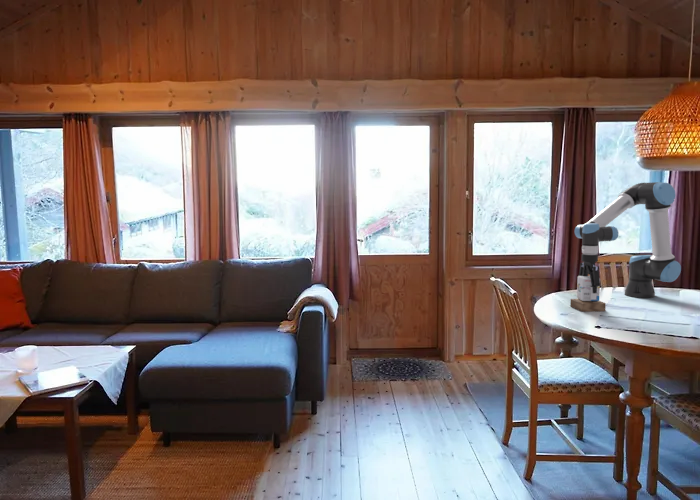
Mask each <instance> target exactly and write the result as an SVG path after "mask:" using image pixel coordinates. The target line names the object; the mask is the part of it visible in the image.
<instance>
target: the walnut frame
mask: <svg viewBox="0 0 700 500" xmlns="http://www.w3.org/2000/svg"><path fill="white" fill-rule="evenodd" d="M569 306H570V307H571V308H573V309H575V310H577V311H579V312H582V313H583V312H584V313H585V312H590V313H591V312H606V303H605V302H603V301H601V300H599V301H582V300H580V299H578V298H570V305H569Z"/></svg>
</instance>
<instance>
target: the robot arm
mask: <svg viewBox="0 0 700 500" xmlns="http://www.w3.org/2000/svg"><path fill="white" fill-rule="evenodd" d="M675 199H676V191H675V187H673V185H671V184H670V183H668V182H661V181H658V182H653V181H652V182H638V183H636V184H634V185H632V186H629V187H628V188H626V189H625V190H624V191H622V192H621V193H619V194H618V196H617V199H615V200H613V201H612V202H611V203H610V204H608V205H607V206H606V207H605V208H603V209H602V210H601V211H600V212H599V213H597V214H596V215H595V216H594V217H592V218H591V219H590V220H589V221H587V222H586V223H584V224H577V226H575V228H574V236H575V237H576V238H577V239H582V240H581V241H582V243H581V245H582V246H581V253H582V254H581V262H580V263H579V271H578V276H590V279H591V284H592V286H591V295H590V299H591V300H595V299H596V294H597V287H598V286H600V287H601V279H600V280H599V278H600V271H599V270H600V266H596V263H597V262H598V261H599V255H598V254H599V244H600V243H599V242H613V241H616V240H617V239H618V237H619V230H618V228H617V227H615V226H612V225H611V226H609V224H611V222H613V221H615V219H616V218H619V216H620V215H622V214H623V213H624V212H626V211H627V210H628V209H632V208H633V207H635V206H638V205H644V206H645V207H644V208H645V210H646V211H647V212H648V216H649V227H650V237H651V247H652V248H651V250H652V251H651V252H652V255H650V254H646V255H644V254H643V255H642V254H641V255H632V256H630V257H629V258H630V259H629V262H628V263H629V264H628V265H629V267H628V269H629V270H628V283H627V285H626V287H625V290H624V295H625V296H628V297H632V298H640V299H642V298H643V299H645V298H646V299H652V298H655V297H656V292H655V287H654V285H653V280H655V281H658V282H659V281H660V282H663V283H664V282H665V283H666V282H667V283H672V282H674V281H676V280H677V279H678V278H679V276H680V274H681V273H682V272H681V271H682V266H681V264H680V262H678V261H677V260H676V257H675V255H674V254H672V248H671V236H670V222H669V221H670V220H669V212H668V210H669V209H670V208H671V207H672V204H673V203H674V202H675Z"/></svg>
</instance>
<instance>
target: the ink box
mask: <svg viewBox="0 0 700 500" xmlns="http://www.w3.org/2000/svg"><path fill="white" fill-rule="evenodd" d="M599 280H600V281H601V278H600V277H599ZM576 283H577V285H576V299H580V300H582V301H600V293H601V292H600V288H601V285H600V286H598V287H597V294H596V299H595V300H591V299H590V295H591V286H592V284H591V279H590V275H588V276H579V275H578V276H577V281H576Z"/></svg>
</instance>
